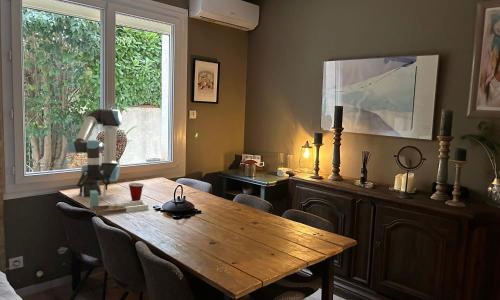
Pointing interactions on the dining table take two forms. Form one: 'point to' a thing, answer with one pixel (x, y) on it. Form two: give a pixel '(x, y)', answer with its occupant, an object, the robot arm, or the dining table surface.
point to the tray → (135, 206)
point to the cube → (119, 206)
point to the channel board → (105, 212)
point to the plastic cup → (136, 191)
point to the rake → (94, 199)
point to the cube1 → (111, 206)
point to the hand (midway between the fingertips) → (93, 195)
